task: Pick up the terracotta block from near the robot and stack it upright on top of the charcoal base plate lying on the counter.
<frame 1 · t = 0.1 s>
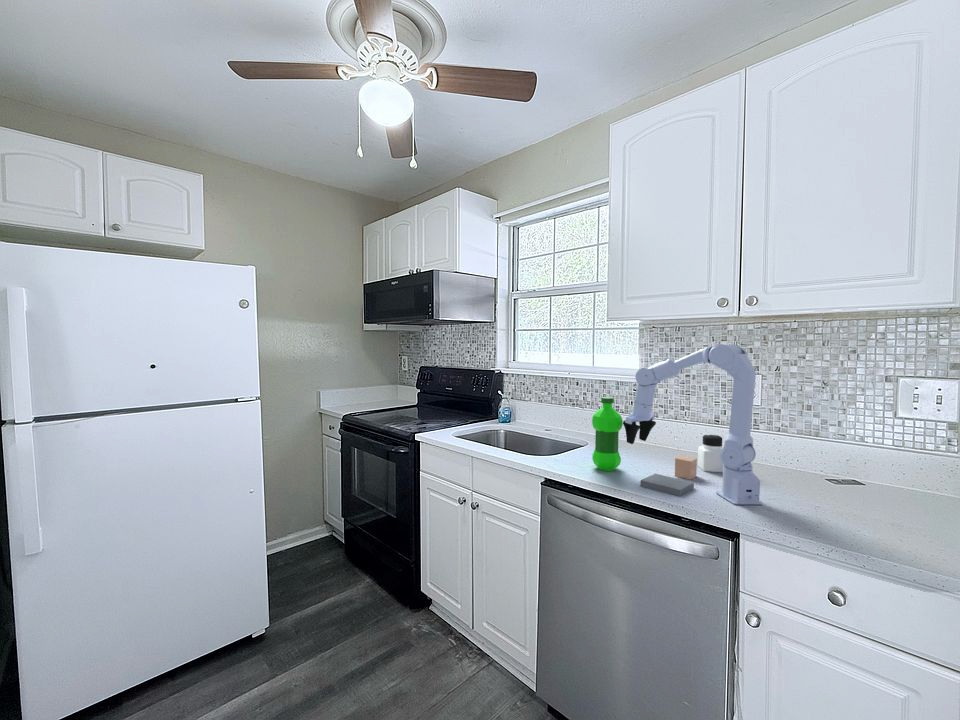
hand: (636, 441, 147), 10 cm above the worktop, tool pointing down, fingers open, 7 cm apart
medicine bottle: (711, 469, 152), on the worktop
plastic bottle: (606, 469, 151), on the worktop
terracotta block: (685, 476, 144), on the worktop
charcoal base: (666, 487, 132), on the worktop
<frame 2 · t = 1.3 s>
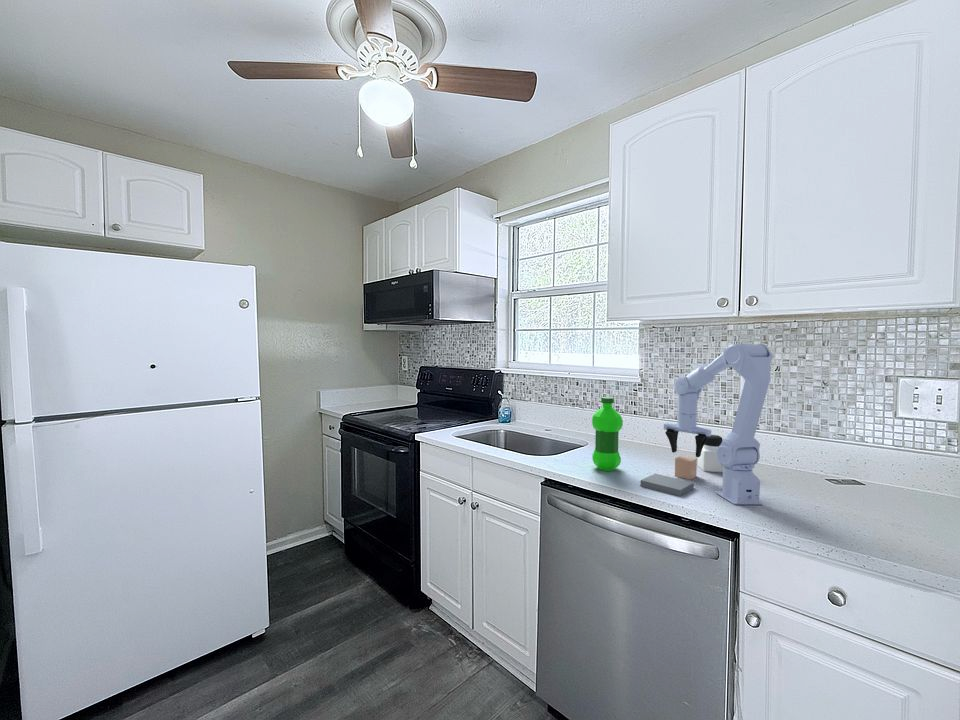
hand: (685, 454, 143), 7 cm above the worktop, tool pointing down, fingers open, 7 cm apart
nothing on the worktop moved.
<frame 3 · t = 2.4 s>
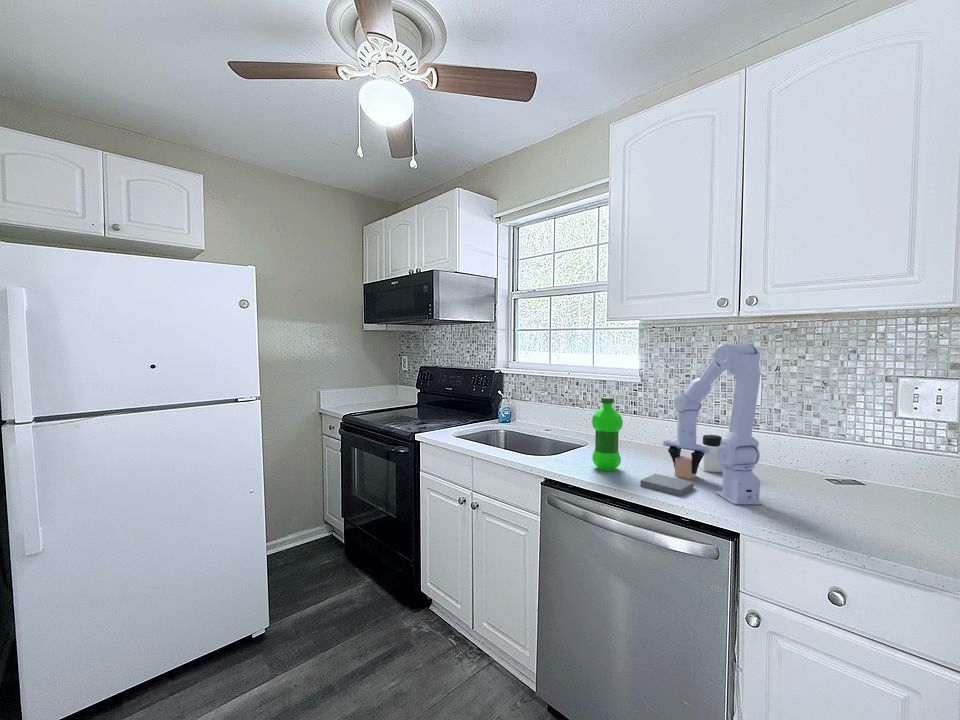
hand: (685, 471, 143), 2 cm above the worktop, tool pointing down, fingers closed on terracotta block, 5 cm apart
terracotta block: (685, 476, 144), on the worktop, touching gripper
everything else where it was.
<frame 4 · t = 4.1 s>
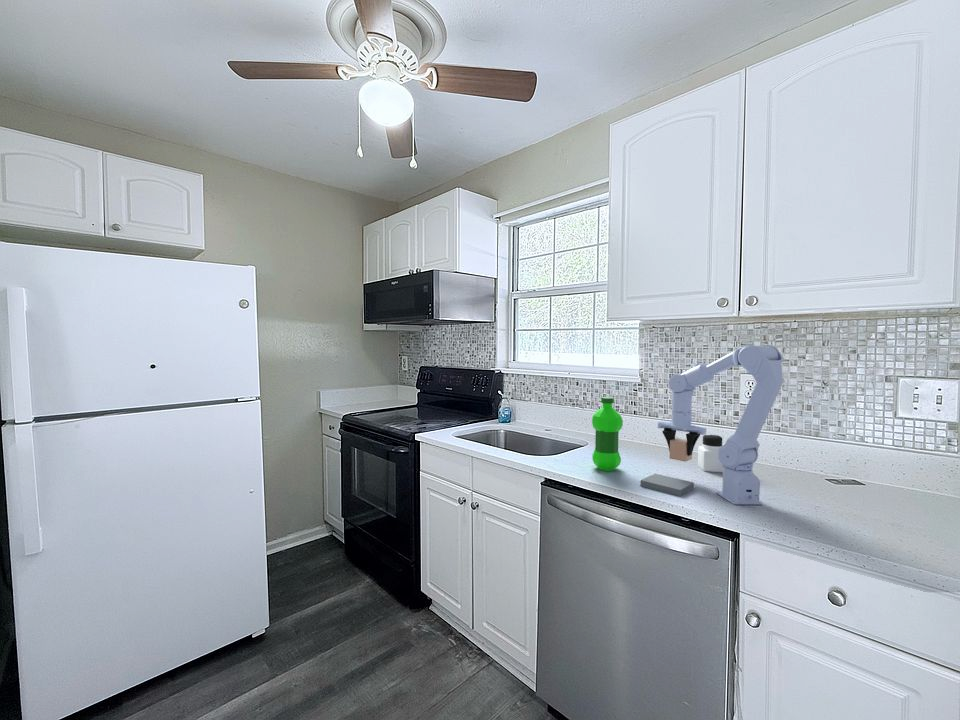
hand: (680, 453, 139), 9 cm above the worktop, tool pointing down, fingers closed on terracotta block, 5 cm apart
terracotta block: (680, 458, 140), point 7 cm above the worktop, touching gripper
everything else where it was.
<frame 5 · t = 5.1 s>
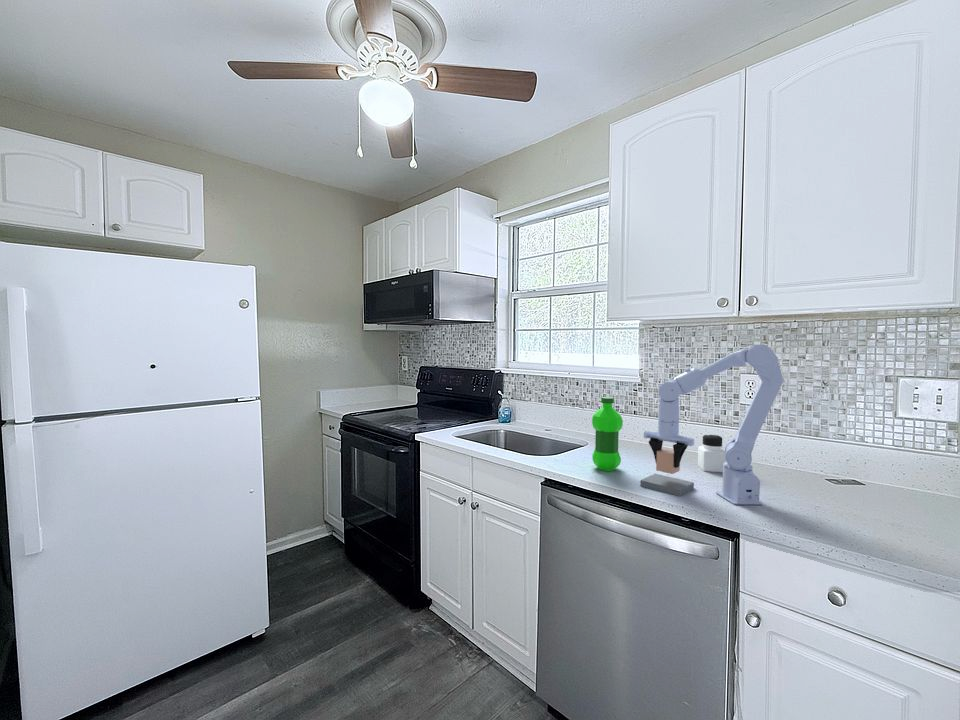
hand: (667, 465, 132), 7 cm above the worktop, tool pointing down, fingers closed on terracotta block, 5 cm apart
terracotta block: (667, 470, 133), point 5 cm above the worktop, touching gripper
everything else where it was.
when the fingers open (5 cm above the worktop, at t = 5.9 s): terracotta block drops 1 cm, resting on charcoal base.
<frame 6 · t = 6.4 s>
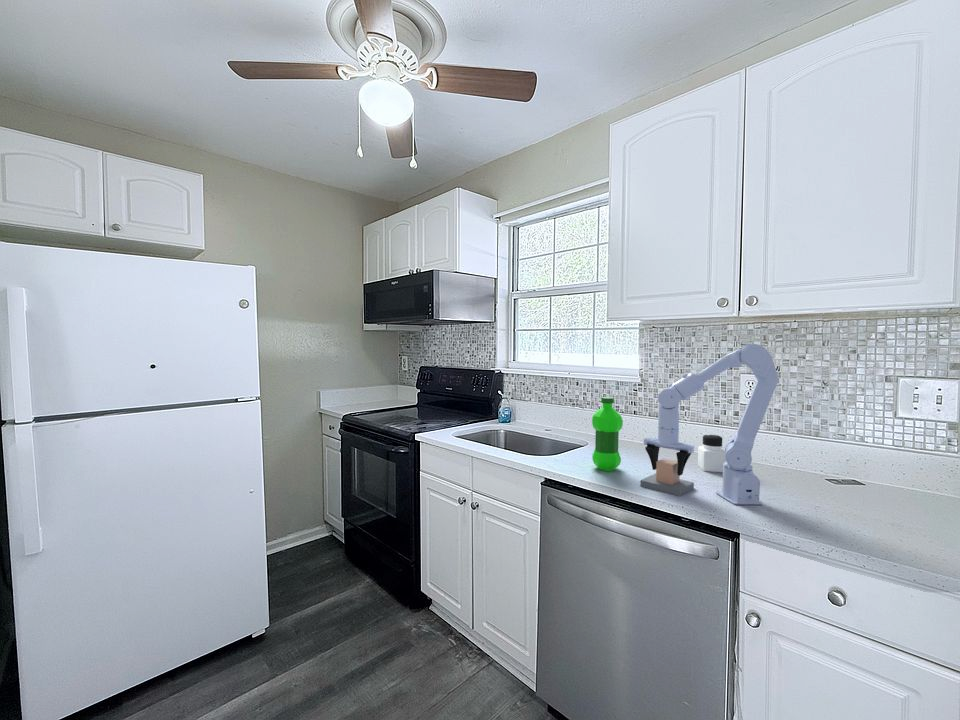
hand: (667, 471, 132), 5 cm above the worktop, tool pointing down, fingers open, 7 cm apart
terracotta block: (667, 480, 133), point 2 cm above the worktop, touching charcoal base
everything else where it was.
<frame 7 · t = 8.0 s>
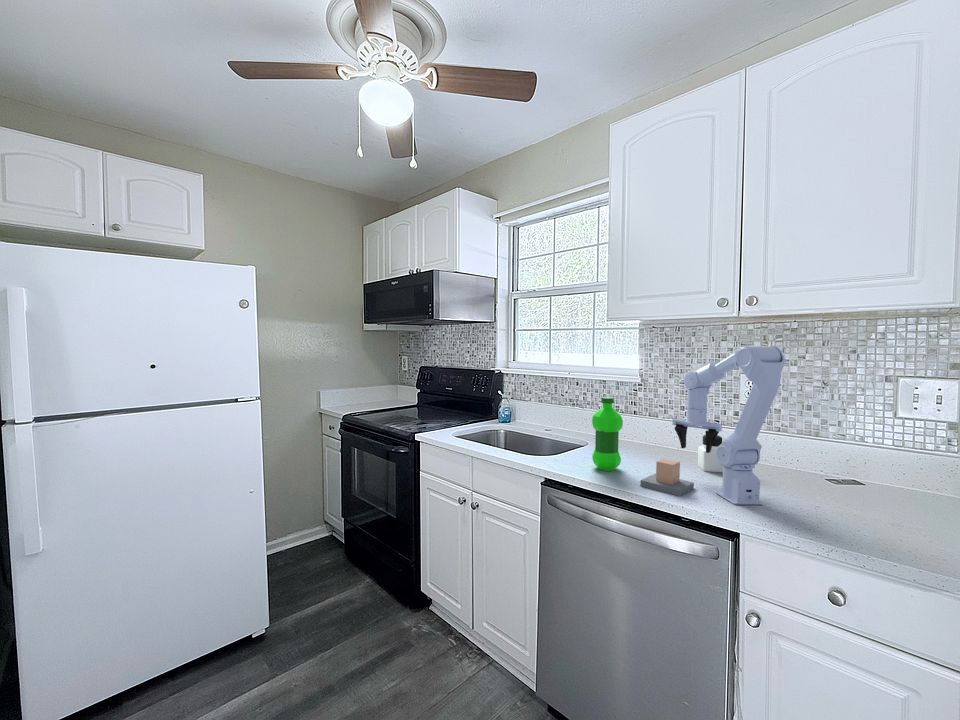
hand: (695, 450, 140), 9 cm above the worktop, tool pointing down, fingers open, 7 cm apart
nothing on the worktop moved.
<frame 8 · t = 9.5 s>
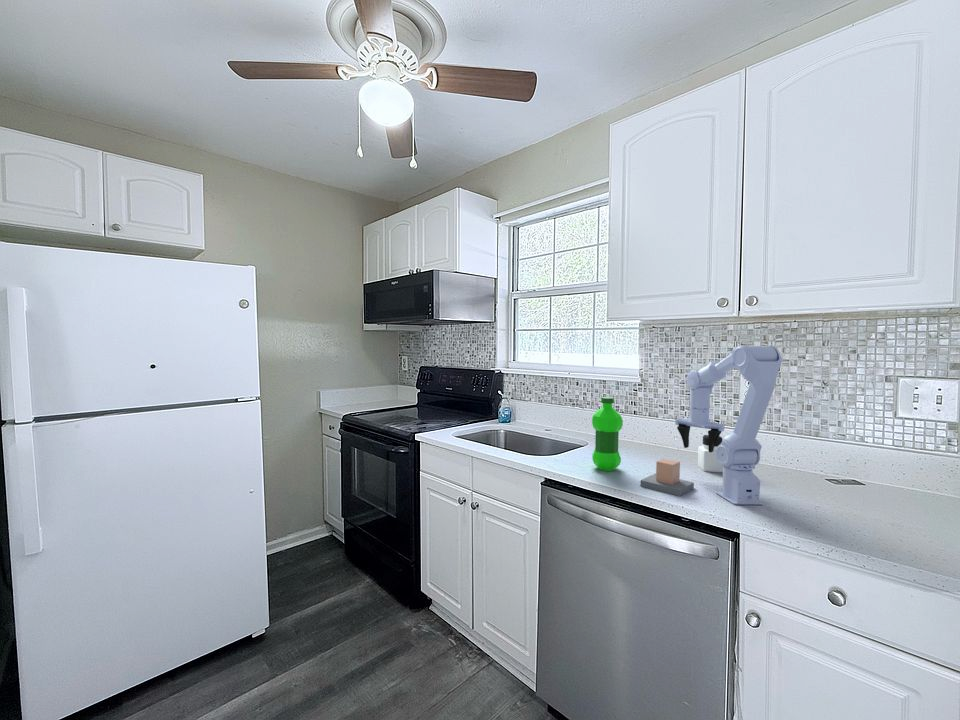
hand: (698, 449, 141), 9 cm above the worktop, tool pointing down, fingers open, 7 cm apart
nothing on the worktop moved.
at the end: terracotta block 0.4 cm off-centre on the charcoal base, point 1.8 cm above the charcoal base's base; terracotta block tilted 0°; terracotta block touching charcoal base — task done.
